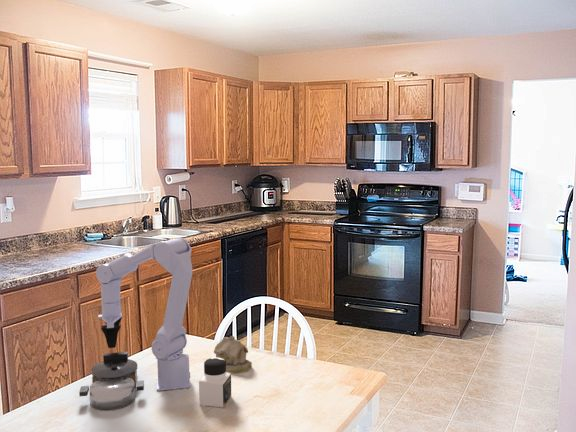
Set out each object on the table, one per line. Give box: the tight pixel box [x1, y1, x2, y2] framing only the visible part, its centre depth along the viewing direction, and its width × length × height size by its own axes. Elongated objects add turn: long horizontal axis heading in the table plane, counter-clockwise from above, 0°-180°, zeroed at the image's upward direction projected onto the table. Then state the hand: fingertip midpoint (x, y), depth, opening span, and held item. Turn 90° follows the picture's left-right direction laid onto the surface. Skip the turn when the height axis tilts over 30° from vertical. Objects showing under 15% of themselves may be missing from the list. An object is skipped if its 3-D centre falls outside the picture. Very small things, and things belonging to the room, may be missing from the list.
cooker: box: [78, 360, 145, 412], centre depth 160 cm, size 17×22×4 cm
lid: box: [90, 351, 138, 379], centre depth 164 cm, size 13×13×3 cm
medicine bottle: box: [198, 356, 232, 408], centre depth 154 cm, size 7×7×12 cm
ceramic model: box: [213, 335, 253, 375], centre depth 179 cm, size 14×11×10 cm
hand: (112, 343), depth 174 cm, fingers open, 7 cm apart
